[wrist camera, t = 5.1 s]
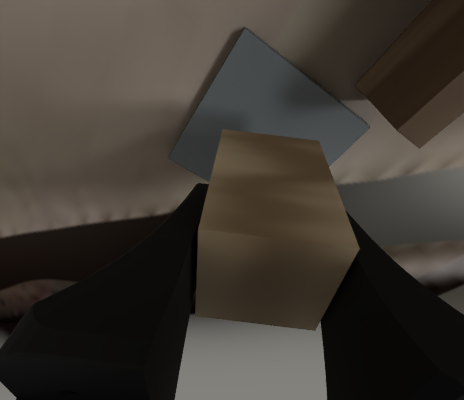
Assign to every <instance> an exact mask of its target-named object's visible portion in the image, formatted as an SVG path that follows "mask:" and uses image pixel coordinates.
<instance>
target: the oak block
mask: <svg viewBox="0 0 464 400" xmlns="http://www.w3.org/2000/svg"><path fill="white" fill-rule="evenodd" d="M359 249H360V248H359V246H358V243H357V240H356V238H355V235H354V232H353V230H352V227H351V224H350V222H349V219H348V216H347V214H346V211H345V209H344V206H343V203H342V201H341V198H340V195H339V193H338V190H337V187H336V185H335V182H334V179H333V177H332V174H331V171H330V169H329V166H328V164H327V161H326V158H325V156H324V153H323V150H322V148H321V145H320V142H319V141H317V140H309V139H301V138H293V137H285V136H276V135H268V134H260V133H252V132H244V131H236V130H227V129H223V130H222V134H221V138H220V142H219V146H218V150H217V154H216V158H215V162H214V166H213V171H212V175H211V179H210V183H209V187H208V191H207V195H206V199H205V203H204V207H203V211H202V216H201V220H200V224H199V228H198V252H197V283H196V313H195V316H199V317H208V318H216V319H225V320H232V321H241V322H250V323H258V324H265V325H273V326H282V327H289V328H298V329H306V330H314V331H315V330H316V328H317V326H318V324H319V322H320V321H321V319H322V317H323V315H324V313H325V311H326V310H327V308H328V306H329V304H330V302H331V300H332V299H333V297H334V295H335V293H336V291H337V289H338V287H339V286H340V284H341V282H342V280H343V278H344V276H345V275H346V273H347V271H348V269H349V267H350V265H351V264H352V262H353V260H354V258H355V256H356V254H357V253H358V251H359Z"/></svg>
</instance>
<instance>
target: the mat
mask: <svg viewBox="0 0 464 400" xmlns="http://www.w3.org/2000/svg"><path fill="white" fill-rule="evenodd" d="M369 128H370V126H369V125H368V124H367V123H366V122H365V121H364V120H362V119H361V118H360V117H359V116H357V115H356V114H355V113H354V112H352V111H351V110H350V109H349V108H347V107H346V106H345V105H344V104H342V103H341V102H340V101H338V100H337V99H336V98H335V97H333V96H332V95H331V94H330V93H328V92H327V91H326V90H325V89H323V88H322V87H321V86H320V85H318V84H317V83H316V82H314V81H313V80H312V79H311V78H309V77H308V76H307V75H306V74H304V73H303V72H302V71H301V70H299V69H298V68H297V67H296V66H294V65H293V64H292V63H290V62H289V61H288V60H287V59H285V58H284V57H283V56H282V55H280V54H279V53H278V52H277V51H275V50H274V49H273V48H271V47H270V46H269V45H268V44H266V43H265V42H264V41H263V40H261V39H260V38H259V37H258V36H256V35H255V34H254V33H253V32H251V31H250V30H249V29H247V28H246V27H245V28H244V30H243V32H242V33H241V35H240V37H239V38H238V40H237V42H236V43H235V45H234V47H233V48H232V50H231V52H230V53H229V55H228V57H227V58H226V60H225V62H224V64H223V65H222V67H221V69H220V70H219V72H218V74H217V75H216V77H215V79H214V80H213V82H212V84H211V85H210V87H209V89H208V90H207V92H206V94H205V96H204V97H203V99H202V101H201V102H200V104H199V106H198V107H197V109H196V111H195V112H194V114H193V116H192V117H191V119H190V121H189V123H188V124H187V126H186V128H185V129H184V131H183V133H182V134H181V136H180V138H179V139H178V141H177V143H176V144H175V146H174V148H173V149H172V151H171V153H170V155H169V157H168V158H169V159H170V160H172V161H174V162H176V163H177V164H179V165H181V166H183V167H184V168H186V169H188V170H190V171H191V172H193V173H195V174H196V175H198V176H200V177H202V178H203V179H205V180H207V181H209V182H210V179H211V175H212V171H213V166H214V162H215V158H216V154H217V150H218V146H219V142H220V138H221V134H222V130H223V129H227V130H236V131H244V132H252V133H260V134H268V135H276V136H285V137H293V138H301V139H309V140H317V141H319V142H320V145H321V148H322V150H323V153H324V156H325V158H326V161H327V164H328V166H330V165H331V164H332V163H333V162H334V161H336V160H337V159H338V158H339V157H340V156H341V155H342V154H343V153H344V152H345V151H346V150H347V149H348V148H349V147H350V146H351V145H352V144H353V143H354V142H355V141H356V140H357V139H359V138H360V137H361V136H362V135H363V134H364V133H365V132H366V131H367V130H368V129H369Z"/></svg>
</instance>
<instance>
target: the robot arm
mask: <svg viewBox="0 0 464 400" xmlns="http://www.w3.org/2000/svg"><path fill="white" fill-rule="evenodd" d="M208 187H209V184H202V183H198V184H197V185H196V186H195V187H194V188H193V190H192V191H191V192H190V194H189V195H188V196H187V197H186V199H185V200H184V201H183V202H182V203H181V204H180V205H179V207H178V208H177V209H176V210H175V211H174V212H173V213H172V214H171V216H169V217H168V218H167V219H166V220H165V221H164V222H163V223H162V224H161V225H160V226H159V227H158V228H157V229H156V230H154V231H153V232H152V233H151V234H150V235H149V236H148V237H146V238H145V239H144V240H143V241H141V242H140V243H139V244H137V245H136V246H135V247H133V248H132V249H131V250H130V251H128V252H126V253H125V254H124V255H122V256H121V257H119V258H118V259H116V260H115V261H113V262H112V263H110V264H109V265H107V266H106V267H104V268H103V269H100V270H99V271H97V272H95V273H94V274H92V275H90V276H89V277H87V278H85V279H84V280H81V281H80V282H78V283H76V284H74V285H72V286H70V287H68V288H66V289H64V290H62V291H60V292H58V293H56V294H53V295H51V296H49V297H47V298H45V299H43V300H41V301H39V302H37V303H35V304H34V305H33V306H32V307H31V308H30V310H29V311H28V312H27V313H26V314H25V316H24V317H23V318H22V319H21V320H20V322H19V323H18V325H17V326H16V328H15V329H14V330H13V332H12V333H11V335H10V336H9V337H8V339H7V340H6V342H5V343H4V344H3V346H2V347H1V349H0V382H1V383H2V384H3V385H4V386H6V388H8V390H9V391H10V392H11V393H12V394H13V395H14V396H15V397H16V398H17V399H16V400H174V399H175V393H176V388H177V382H178V375H179V370H180V364H181V359H182V353H183V348H184V342H185V337H186V331H187V326H188V321H189V315H190V310H191V305H192V301H193V297H194V293H195V290H196V283H197V252H198V228H199V224H200V220H201V216H202V211H203V207H204V203H205V199H206V195H207V191H208ZM345 211H346V210H345ZM346 214H347V216H348V219H349V222H350V224H351V227H352V230H353V232H354V235H355V238H356V240H357V243H358V246H359V248H360V249H359V251H358V253H357V254H356V256H355V258H354V260H353V262H352V264H351V265H350V267H349V269H348V271H347V273H346V275H345V276H344V278H343V280H342V282H341V284H340V286H339V287H338V289H337V291H336V293H335V295H334V297H333V299H332V300H331V302H330V304H329V306H328V308H327V310H326V311H325V313H324V315H323V317H322V319H321V328H322V339H323V347H324V360H325V371H326V384H327V385H326V386H327V400H464V315H463V314H462V313H460V312H459V311H457V310H456V309H454V308H453V307H451V306H450V305H449V304H447V303H446V302H445V301H443V300H442V299H441V298H439V297H438V296H436V295H435V294H434V293H432V292H431V291H430V290H428V289H427V288H426V287H425V286H423V285H422V284H421V283H419V282H418V281H417V280H416V279H415V278H413V277H412V276H411V275H410V274H409V273H408V272H406V271H405V270H404V269H403V268H402V267H400V266H399V265H398V264H397V263H396V262H395V261H394V260H393V259H392V258H391V257H390V256H389V255H387V254H386V253H385V252H384V251H383V250H382V249H381V248H380V247H379V246H378V245H377V244H376V243H375V242H374V241H373V240H372V239H371V238H370V237H369V236H368V235H367V234H366V232H365V231H364V230H363V229H362V228H361V227H360V226H359V225H358V224H357V223H356V221H355V220H354V219H353V218H352V217H351V216H350V215H349V214H348V212H347V211H346Z"/></svg>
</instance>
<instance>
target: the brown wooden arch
mask: <svg viewBox="0 0 464 400" xmlns="http://www.w3.org/2000/svg"><path fill="white" fill-rule="evenodd" d="M355 86H356V87H357V88H358V89H359V90H360V91H361V92H362V93H363V94H364V95H365V97H366V98H367V99H368V100H369V101H370V102H371V103H372V104H373V105H374V106H375V107H376V108H377V109H378V111H379V112H380V113H381V114H382V115H383V116H384V117H385V118H386V119H387V120H388V121H389V122H390V123H391V125H392V126H393V127H394V128H395V129H396V130H397V131H398V132H399V133H401V134H402V135H403V136H404V137H406V138H407V139H408V140H409V141H411V142H412V143H413V144H414V145H415V146H417V147H418V148H421V147H422V146H423V145H424V144H426V143H427V142H428V141H429V140H430V139H432V138H433V137H434V136H435V135H437V134H438V133H439V132H440V131H442V130H443V129H444V128H445V127H446V126H448V125H449V124H450V123H451V122H453V121H454V120H455V119H456V118H457V117H459V116H460V115H461V114H462V113H464V0H432V1H431V2H430V4H429V5H428V6H427V7H426V8H425V9H424V10H423V11H422V12H421V13H420V14H419V16H418V17H417V18H416V19H415V20H414V21H413V22H412V23H411V24H410V25H409V27H408V28H407V29H406V30H405V31H404V32H403V33H402V34H401V35H400V36H399V37H398V39H397V40H396V41H395V42H394V43H393V44H392V45H391V46H390V47H389V48H388V50H387V51H386V52H385V53H384V54H383V55H382V56H381V57H380V58H379V59H378V60H377V62H376V63H375V64H374V65H373V66H372V67H371V68H370V69H369V70H368V71H367V72H366V74H365V75H364V76H363V77H362V78H361V79H360V80H359V81H358V82H357V83H356V85H355Z"/></svg>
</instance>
